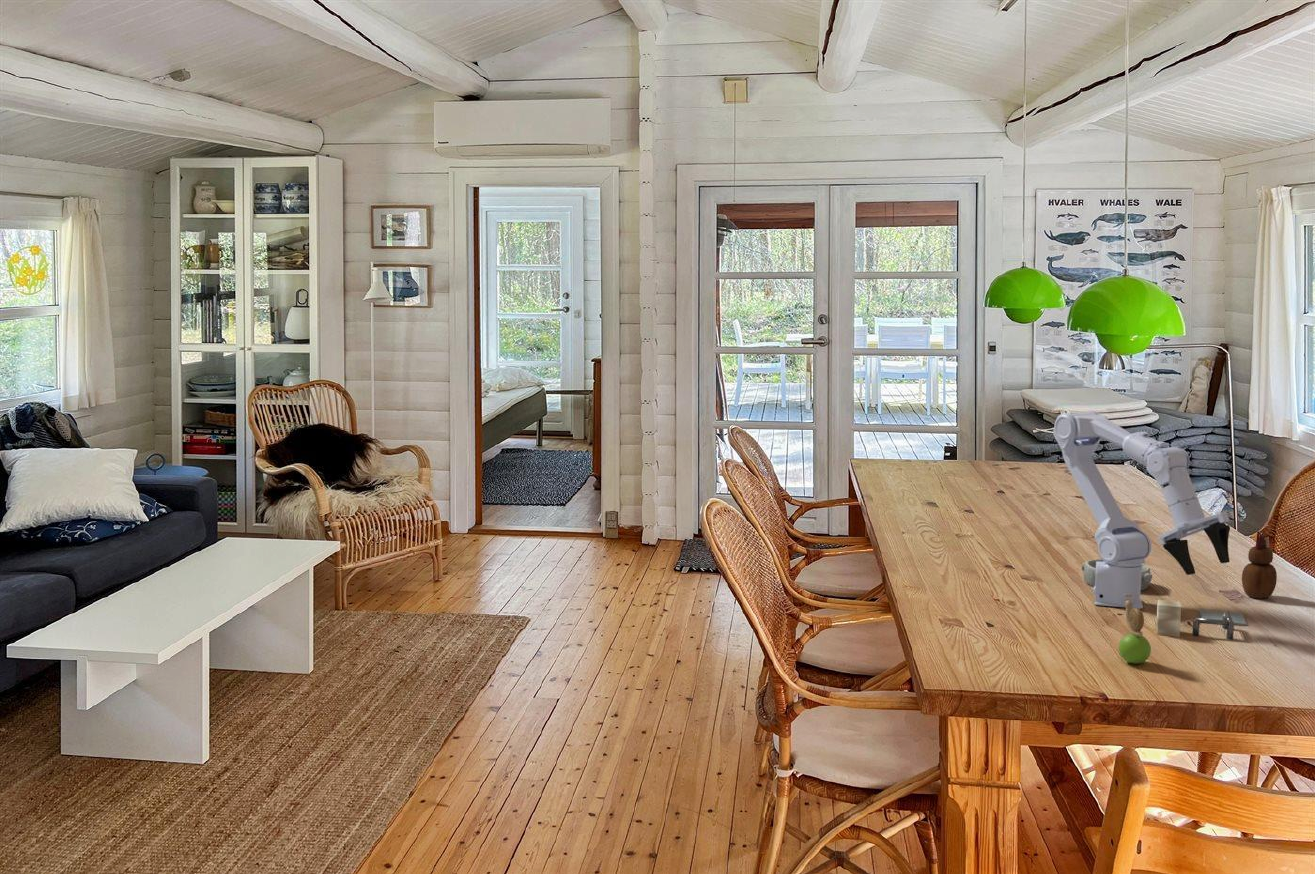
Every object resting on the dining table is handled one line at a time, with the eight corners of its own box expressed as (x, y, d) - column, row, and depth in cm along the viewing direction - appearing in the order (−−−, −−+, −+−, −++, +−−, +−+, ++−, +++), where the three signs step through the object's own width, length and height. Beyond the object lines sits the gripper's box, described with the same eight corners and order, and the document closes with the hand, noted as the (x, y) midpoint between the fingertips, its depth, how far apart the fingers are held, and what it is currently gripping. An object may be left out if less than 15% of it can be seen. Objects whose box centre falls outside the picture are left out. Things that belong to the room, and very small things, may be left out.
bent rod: (1192, 635, 217) (1193, 617, 217) (1189, 623, 225) (1190, 606, 224) (1233, 639, 214) (1234, 621, 214) (1228, 627, 222) (1229, 609, 222)
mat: (1202, 621, 226) (1202, 619, 226) (1198, 610, 233) (1199, 609, 233) (1246, 625, 223) (1246, 623, 223) (1241, 614, 230) (1241, 612, 230)
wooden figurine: (1255, 601, 240) (1260, 533, 238) (1235, 594, 245) (1239, 528, 243) (1281, 598, 241) (1285, 531, 239) (1260, 592, 247) (1264, 526, 245)
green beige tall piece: (1139, 655, 206) (1142, 593, 204) (1155, 667, 199) (1158, 602, 198) (1110, 656, 206) (1113, 593, 204) (1125, 668, 199) (1129, 603, 198)
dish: (1159, 593, 248) (1160, 571, 247) (1097, 593, 248) (1097, 572, 247) (1133, 576, 262) (1134, 556, 261) (1074, 577, 262) (1075, 556, 262)
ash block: (1157, 634, 218) (1158, 605, 217) (1156, 628, 222) (1157, 599, 221) (1179, 636, 217) (1181, 607, 216) (1178, 630, 220) (1179, 601, 220)
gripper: (1141, 516, 226) (1164, 580, 222) (1203, 491, 215) (1229, 558, 211) (1161, 515, 230) (1185, 578, 226) (1224, 490, 219) (1250, 556, 214)
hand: (1207, 568), depth 218 cm, fingers open, 7 cm apart
